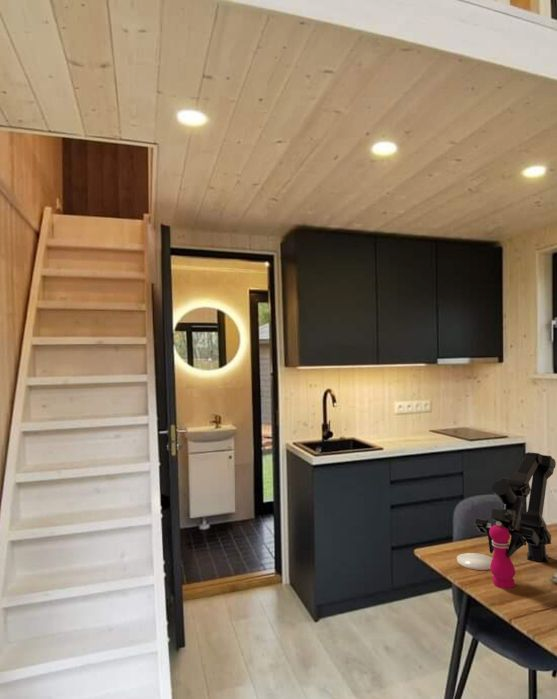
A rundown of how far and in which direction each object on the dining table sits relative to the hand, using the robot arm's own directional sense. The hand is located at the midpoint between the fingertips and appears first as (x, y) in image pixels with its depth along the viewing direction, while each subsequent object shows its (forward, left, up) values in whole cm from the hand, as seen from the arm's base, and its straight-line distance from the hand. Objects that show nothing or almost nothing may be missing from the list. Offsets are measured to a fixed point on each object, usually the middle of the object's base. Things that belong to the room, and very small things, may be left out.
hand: (499, 554), depth 138 cm
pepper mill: (-1, 0, -10) cm, 10 cm away
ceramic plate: (-15, -10, -10) cm, 20 cm away
